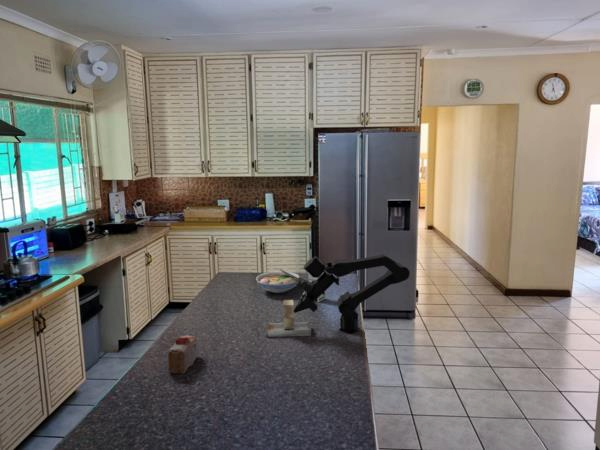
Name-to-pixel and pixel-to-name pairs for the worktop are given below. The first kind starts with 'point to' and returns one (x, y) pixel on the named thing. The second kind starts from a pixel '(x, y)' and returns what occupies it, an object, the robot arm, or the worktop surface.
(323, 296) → the syrup box
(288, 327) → the lever
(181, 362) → the food item
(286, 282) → the ramen bowl
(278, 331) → the fader track
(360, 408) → the worktop surface
